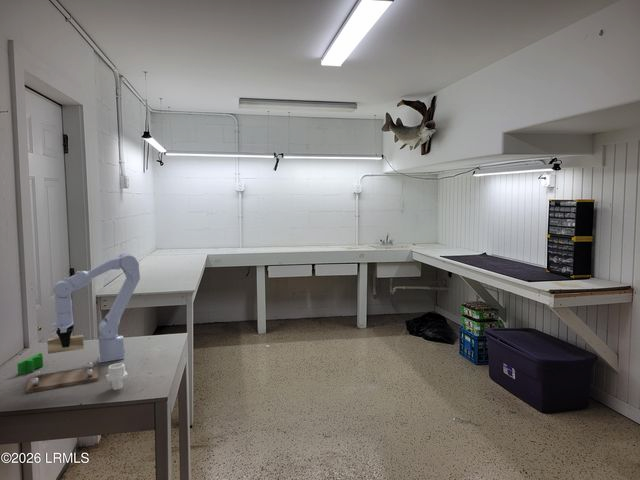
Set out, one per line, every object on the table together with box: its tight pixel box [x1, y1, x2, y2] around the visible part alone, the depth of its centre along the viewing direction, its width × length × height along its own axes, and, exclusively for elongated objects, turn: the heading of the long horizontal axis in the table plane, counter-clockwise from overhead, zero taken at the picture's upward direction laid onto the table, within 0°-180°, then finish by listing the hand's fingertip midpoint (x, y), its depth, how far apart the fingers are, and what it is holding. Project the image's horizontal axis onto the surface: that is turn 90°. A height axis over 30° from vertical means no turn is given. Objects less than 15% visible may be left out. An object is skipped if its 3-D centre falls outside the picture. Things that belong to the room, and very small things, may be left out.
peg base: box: [25, 361, 100, 394], centre depth 158 cm, size 22×12×4 cm, turn 117°
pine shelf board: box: [47, 334, 85, 354], centre depth 171 cm, size 3×12×5 cm, turn 116°
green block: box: [16, 352, 44, 376], centre depth 169 cm, size 11×4×5 cm, turn 173°
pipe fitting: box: [105, 362, 129, 391], centre depth 152 cm, size 6×7×8 cm
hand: (66, 345), depth 171 cm, fingers closed on pine shelf board, 3 cm apart
